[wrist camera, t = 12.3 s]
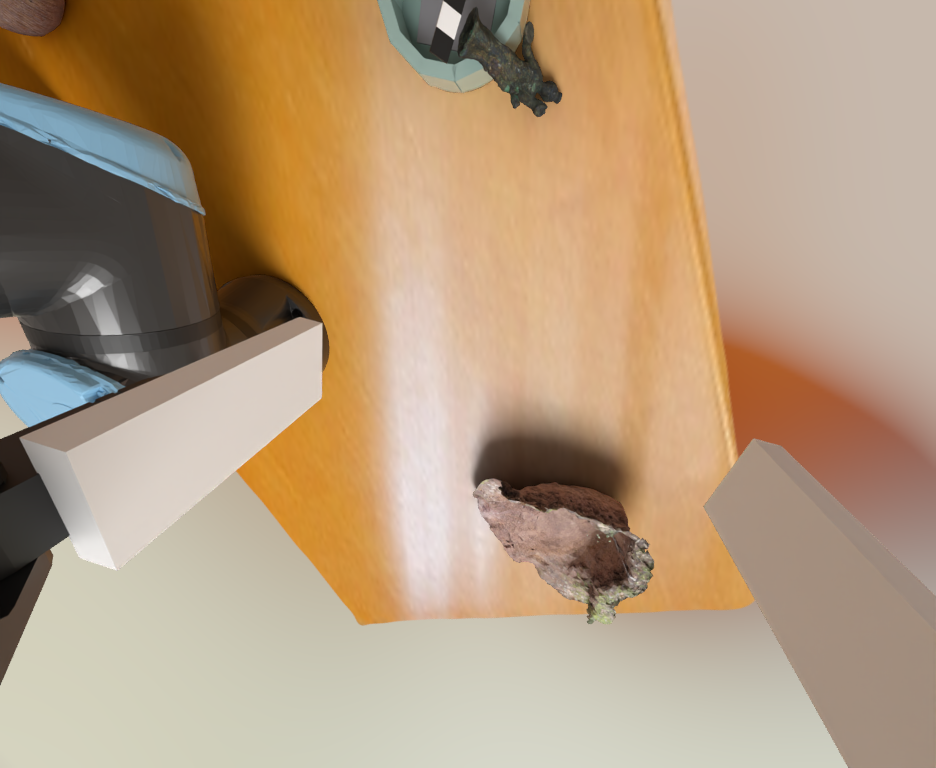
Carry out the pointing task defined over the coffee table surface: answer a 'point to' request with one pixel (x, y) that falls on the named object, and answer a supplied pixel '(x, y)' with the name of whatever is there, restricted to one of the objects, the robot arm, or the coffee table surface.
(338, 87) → the coffee table surface
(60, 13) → the decorative stone
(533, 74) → the figurine
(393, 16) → the bowl
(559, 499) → the rock
